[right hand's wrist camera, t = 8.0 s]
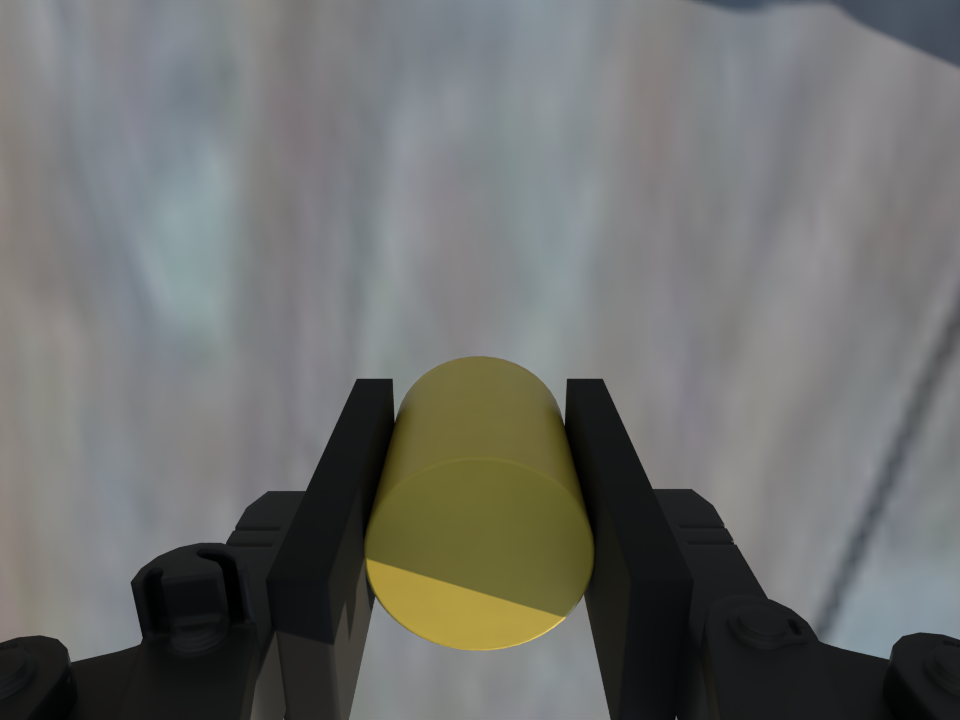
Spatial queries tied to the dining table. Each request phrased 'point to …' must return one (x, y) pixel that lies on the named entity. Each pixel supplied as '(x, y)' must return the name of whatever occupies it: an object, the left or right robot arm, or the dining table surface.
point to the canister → (479, 510)
